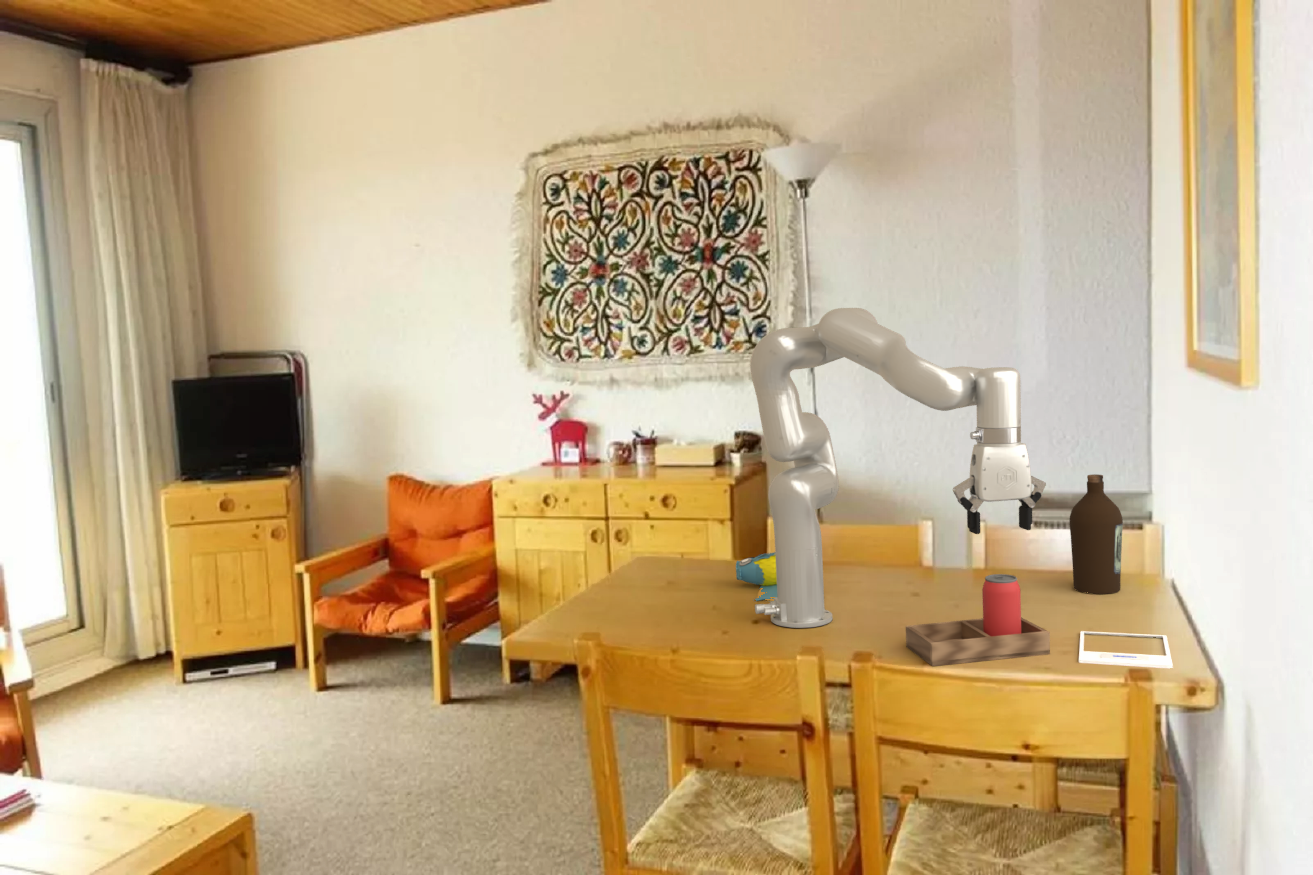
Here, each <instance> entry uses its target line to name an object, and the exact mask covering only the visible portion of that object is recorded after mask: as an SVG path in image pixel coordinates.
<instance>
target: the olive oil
mask: <svg viewBox="0 0 1313 875" xmlns="http://www.w3.org/2000/svg"><path fill="white" fill-rule="evenodd" d="M1104 486H1105V484H1104V475H1102V474H1096V473H1095V474H1088V475H1087V481H1086V491H1087V492H1086V493H1085V494H1084V496H1082V498H1081V499H1079V500H1078V502H1076V504H1075V505H1074V506H1073V507H1072V509H1071V511H1070V514H1069V531H1070V532H1069V534H1070V546H1071V548H1070V549H1071V559H1072V560H1071V561H1072V580H1073V583H1072V584H1073V589H1074V590H1075V589H1076V590H1075V591H1077V590H1078V591H1077V592H1079V591H1080V592H1079V593H1083V592H1086V593H1085V594H1089V593H1093V594H1092V595H1108V594H1110V595H1111V594H1115V593H1118V592H1120V591H1121V580H1122V579H1121V577H1122V576H1121V574H1122V573H1121V570H1122V548H1123V547H1122V544H1123V528H1124V527H1123V524H1124V523H1123V515H1122V512H1121V509H1119V507H1118V506H1117V504H1115V502H1113V501H1112V500H1111V498H1109V497H1108V496H1107V494H1105V492H1104V490H1105V487H1104ZM1087 592H1088V593H1087Z"/></svg>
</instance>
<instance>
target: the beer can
mask: <svg viewBox="0 0 1313 875" xmlns="http://www.w3.org/2000/svg"><path fill="white" fill-rule="evenodd" d="M983 582H984V583H983V585H982V589H981V591H982V592H981V593H982V595H981V596H982V618H983V632H984V633H986V634H988V635H990V636H1001V635H1011V634H1021V617H1022V608H1021V607H1022V606H1021V605H1022V596H1021V587H1020V583H1019V582H1018V577H1016V576H1015V575H1012V574H1005V573H997V574H996V573H995V574H989V575H986V576H985V577H984V581H983Z"/></svg>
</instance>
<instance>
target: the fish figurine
mask: <svg viewBox="0 0 1313 875" xmlns="http://www.w3.org/2000/svg"><path fill="white" fill-rule="evenodd" d="M735 574H736V577H735V578H736V580H738V581H742V582H744V583H745V582H746V583H749V584H753V585H755V586H756V585H757V586H760V587H759V589H760V588H763V589H762V590H761V592H765V594H763V595H761V597H760V596H759V598H757V597H756V598H754V599H755V600H756V601H755V602H758V601H763V600H765V599H771V598H770V597H777V576H776V553H775V551H774V552H770V551H769V552H768V553H767V552H766V553H763V554H762V553H760V554H758V555H756V556H755V557H754V556H752V557H747V558H744V559H741V560H737V561H736V563H735ZM766 592H767V593H766ZM772 599H774V598H772Z"/></svg>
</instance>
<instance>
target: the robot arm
mask: <svg viewBox="0 0 1313 875" xmlns="http://www.w3.org/2000/svg"><path fill="white" fill-rule="evenodd" d="M842 358H846V359H847V360H850V361H852V362H853V363H856V364H858V365H860V366H861V367H864V368H866V369H867V370H869V371H872V372H873V373H875V374H877V375H879V376H880V377H881V378H882V379H883V380H884V381H885V382H886V383H888V384H889V385H890V386H891V387H893V388H894V389H895V390H896V391H898V392H899V393H901V394H903V395H905V396H907V397H908V398H909V399H912V400H914V401H916V402H919V403H920V404H922V405H923V406H926V407H928V408H930V409H934V410H937V411H941V412H943V411H944V412H945V411H946V412H947V411H952V410H956V409H962V408H966V407H973V406H976V427H975V431H970V432H969V437H970V438H969V439H970V440H975V442H976V444H974V445H973V447H972V448H973V449H972V453H971V458H970V464H969V465H970V466H969V477H968V478H966V479H965V480H964V481H961V482H960V483H958V484H956V485H955V486H953V488H952V491H953V492H952V493H953V495H954V496H955V498H956V499H957V503H958V504H960V506H962V507H963V508H964V510H966V519H967V520H966V524H967V525H966V526H967V528H968V530H969V532H970V533H971V534H972V533H973V534H975V535H979V534H981V512H979V511H978V510H979V508H980V507H981V505H982V504H983V503H984V502H988V503H991V502H992V503H993V502H1003V501H1004V502H1005V501H1017V500H1018V502H1019V503H1020V504H1021V505H1019V506H1018V527H1019V528H1020V529H1022V530H1023V529H1024V530H1025V531H1031V530H1032V524H1033V508H1035V507H1036V503H1037V502H1038V501H1039V500H1040V499H1041V498H1042V494H1043V492H1044V490H1045V488H1046V486H1047V483H1046V482H1045V481H1043V480H1042V479H1040V478H1037V477H1035V476H1033V475H1032V472H1031V465H1030V457H1029V453H1028V449H1027V444H1026V443H1025V442H1024V443H1023V442H1022V427H1021V426H1022V424H1021V423H1022V421H1021V420H1022V418H1021V417H1022V415H1021V414H1022V413H1021V408H1022V406H1021V403H1022V401H1021V399H1022V398H1021V374H1020V371H1019V370H1018V369H1017V368H1014V367H1007V366H1006V367H999V366H998V367H987V368H982V367H981V368H979V367H972V366H963V365H962V366H952V367H942V366H939V365H937V364H935V363H933V362H931V361H929V360H926V359H925V358H923V357H921V356H918V354H916V353H914V352H913V351H911V350H910V349H909V348H908V346H907V344H906V338H905V337H904V335H902V334H900V333H898V332H896V331H894V330H891V329H889V328H887V327H885V326H883V325H882V324H879V323H878V320H877V319H876V317H875V316H874V315H873V313H872V312H870V311H868V310H866V309H864V308H861V307H839V308H834V309H831V310H829V311H828V312H826V313H825V314H824V315H823V316H822V317H821V319H820V320H819V322H818V323H816V324H813V325H811V326H804V327H803V326H800V327H784V328H779V329H776V330H772V331H771V332H769V333H767V334H766V335H764V336H763V337H762V338H761V339H760V340H759V341H758V342H757V344H756V345H755V347H754V348H753V351H752V353H751V358H750V364H749V367H750V368H749V369H750V375H751V380H752V381H751V382H752V384H753V387H754V388H753V389H754V391H755V396H756V400H757V404H758V406H757V407H758V412H759V418H760V422H761V429H762V433H763V439H764V444H765V448H766V450H767V453H768V455H769V456H770V458H772V459H773V460H774V461H777V462H780V463H791V462H793V464H794V467H792V468H787V469H785V470H783V471H781V472H779V473H778V474H776V475H775V477H773V479H772V481H771V482H770V484H769V487H768V502H769V507H770V513H771V517H772V522H773V533H774V535H773V536H774V550H775V551H774V552H775V553H776V554H775V555H776V576H777V597H775V598H774V601H769V603H765V604H764V603H760V604H759V603H757V604H754V611H755V614H756V615H759V614H763V615H765V616H767V615H768V616H770V621H771V622H772V623H773V624H774V625H777V626H780V627H785V628H791V629H794V628H795V629H805V628H806V629H808V628H815V627H821V626H825V625H827V624H829V623H831V622H832V621H833V613H832V612H831V611H829V610H828V609H825V593H824V588H825V587H824V565H823V562H824V561H823V543H822V542H823V540H822V531H821V525H820V523H819V519H818V516H817V512H816V510H818V509H821V508H824V507H826V506H829V505H831V503H832V502H833V501H834V500H835V499H836V498H837V496H838V493H839V487H840V486H839V485H840V484H839V480H840V479H839V475H838V469H837V468H838V467H837V463H836V459H835V458H836V457H835V453H834V448H833V442H832V439H831V435H830V434H831V433H830V431H829V428H828V427H827V424H826V423H825V422H824V420H823V419H822V418H821V417H819V415H817V414H814V413H812V412H809V411H808V412H807V411H805V412H803V410H802V409H803V408H802V405H801V400H800V394H799V391H798V389H797V386H796V384H795V382H794V380H793V379H792V376H791V372H792V371H794V370H803V369H811V368H817V367H820V366H823V365H826V364H829V363H832V362H835V361H837V360H840V359H842ZM1032 486H1033V488H1032ZM968 489H969V495H970V497H969V499H968V498H967V497H966V494H965V491H967V490H968ZM1032 489H1033V490H1032Z"/></svg>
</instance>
